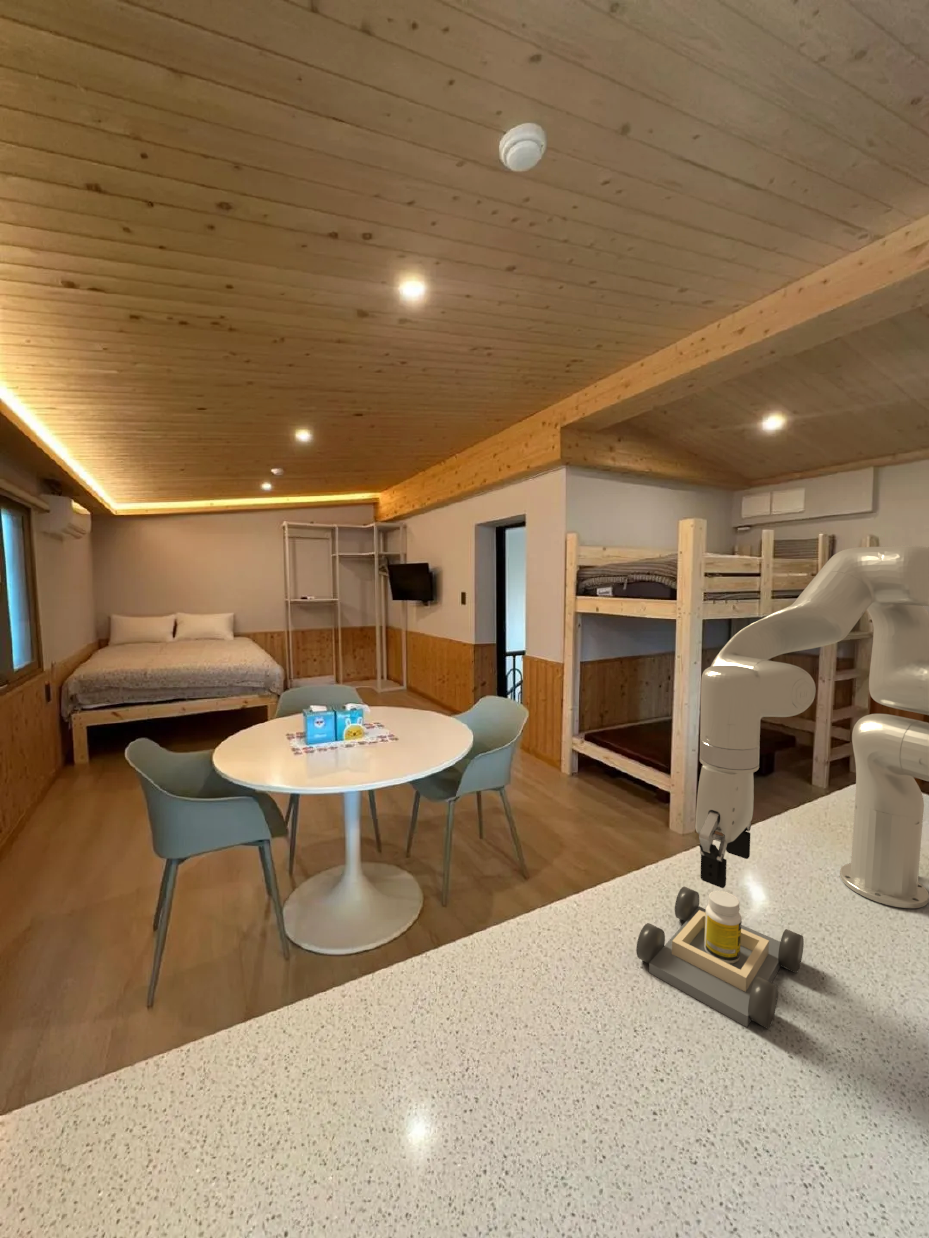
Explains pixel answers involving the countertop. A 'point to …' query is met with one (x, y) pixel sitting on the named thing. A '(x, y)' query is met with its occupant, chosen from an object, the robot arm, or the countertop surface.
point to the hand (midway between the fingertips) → (725, 868)
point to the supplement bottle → (723, 927)
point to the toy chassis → (720, 964)
